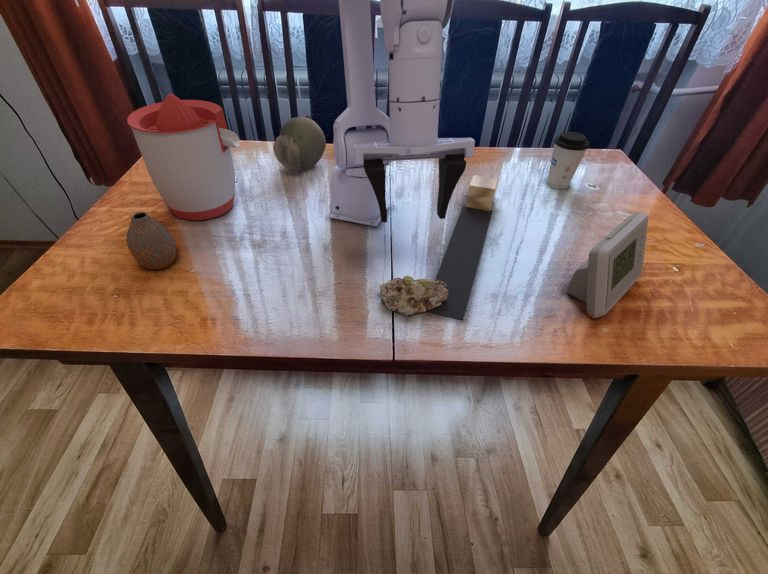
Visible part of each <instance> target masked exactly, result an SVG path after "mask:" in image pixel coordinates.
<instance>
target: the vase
mask: <svg viewBox="0 0 768 574" xmlns="http://www.w3.org/2000/svg"><path fill="white" fill-rule="evenodd" d="M126 245H127V248H128V251H129V253H130V255H131V256H132V258H133V259H134V260H135V262H136V263H137V264H139V265H140V266H142V267H144V268H146V269H149V270H153V271H156V270H162V269H163V270H164V269H166V268H168V267H169V266H170V265H171V264H172V263H173V262H174V260H175V258H176V255H177V245H176V241H175V239H174V236H173V234H172V232H171V231H170V230H169V228H167V226H166V225H164V224H163V223H162V222H160V221H159V220H157V219H155V218H154V217H152V216H151V215H150V214H149V213H148V212H146V211H137V212H134V213H133V214H132V215H131V216H130V223H129V226H128V228H127V230H126Z"/></svg>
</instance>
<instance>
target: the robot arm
mask: <svg viewBox="0 0 768 574" xmlns="http://www.w3.org/2000/svg"><path fill="white" fill-rule="evenodd" d="M454 3H455V0H379V9H380V18H381V23H382V27H383V41H384V43H383V45H384V50H385V52H386V53H388V95H389V96H388V97H389V101H388V102H389V103H388V104H389V105H388V106H389V116H388V115H387V114H386V113H384V112H383V111H382V110H381V109H380V108H378V107H377V106H376V105H377V104H376V89H375V88H376V87H375V72H374V71H375V67H374V53H373V35H372V34H373V33H372V16H371V15H372V14H371V0H338V8H339V9H338V10H339V19H340V20H339V21H340V32H341V43H342V55H343V65H344V66H343V68H344V78H345V80H344V81H345V91H346V93H345V94H346V103H347V107H346V109H345V110H343V112H342V113H340V115H338V117H337V118H336V119H335V120H334V122H333V126H332V127H333V128H332V130H333V131H332V132H333V139H332V140H333V141H332V143H333V145H332V146H333V154H334V160H335V166H334V167H333V168H332V171H331V174H330V182H329V183H330V184H329V187H330V188H329V189H330V203H331V205H330V206H331V214H330V218H331V219H333V220H339V221H345V222H348V223H349V222H350V223H354V224H360V225H365V226H370V227H377V226H378V225H379V224H380V222H381V223H382V224H383V223H387V222H388V209H389V205H388V204H387V200H386V179H387V178H386V175H387V167H388V166H390V165H391V164H392V162H397V161H398V162H399V161H400V162H401V161H417V160H432V159H438V193H437V204H436V215H437V217H438V218H439V219H440V220H445V219H446V216H447V211H448V208H449V204H450V202H451V199H452V196H453V194H454V191H455V189H456V187H457V185H458V183H459V181H460V179H461V178H462V176H463V174H464V172H465V171H466V168H467V161H466V160H465V159H470V158H471V159H472V158H474V157H475V155H474V154H475V144H476V140H475V139H474V138H472V137H438V136H439V116H440V97H441V74H442V73H441V72H442V53H443V51H442V49H443V31H444V29H445V28H446V27H447V26H448V24H449V22H450V19H451V16H452V13H453V8H454ZM369 126H375V127H372V128H360V129H350V128H354V127H356V128H357V127H369Z"/></svg>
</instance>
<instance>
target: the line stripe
mask: <svg viewBox="0 0 768 574" xmlns="http://www.w3.org/2000/svg"><path fill="white" fill-rule="evenodd" d="M493 211H494V210H493V209H490V211H487V210H481V209H475V208H469V207H465V205H464V204H463V205H462V207H461V210H460V212H459V215H458V218H457V221H456V223H455V226H454V228H453V231H452V234H451V236H450V239H449V241H448V244H447V247H446V249H445V252H444V255H443V257H442V260H441V263H440V266H439V268H438V271H437V274H436V277H435V279H434V281H436V280H439V281H441V282H444V283H445V284H446V285H447V288H449V290H448V295H447V299H446V300H444V301H442V303H441V305H440V306H439V307H436V308H435V307H434V308H433V309H430V310H427V311H425V312H424V313H430V314H435V315H438V316H443V317H447V318H451V319H456V320H460V321H464V317H465V314H466V310H467V306H468V303H469V299H470V296H471V292H472V288H473V285H474V280H475V278H476V274H477V270H478V267H479V263H480V259H481V255H482V252H483V248H484V244H485V240H486V237H487V233H488V230H489V226H490V223H491V218H492V215H493Z"/></svg>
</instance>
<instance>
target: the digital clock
mask: <svg viewBox="0 0 768 574" xmlns="http://www.w3.org/2000/svg"><path fill="white" fill-rule="evenodd" d="M648 226H649V216H648V215H647V213H645V212H644V211H637V212H634V213H633V214H630V215H629V216H628V217H627V218H625V219H624V220H623V221H622V222H620V223H619V224H618V225H617V226H616V227H615V228H614V229H612V230H611V231H610V232H609V233H608V234H606V235H605V237H603V238H602V239H601V240H600V241H599V242H598V243H597V244H596V245H595V246H593V248H591V249H590V250H589V253H588V259H587V260H586V261H585V262H584V263H583V264H581V266H579V267H578V268H577V269H576V270H575V271H574V273H573V275H572V277H571V279H570V281H569V283H568V286H567V288H566V291H565V292H566V294H569V295H570V296H573V297H574V298H577V299H579V300H580V301H583V302H584V303H585V305H586V306H585V307H586V308H585V309H586V313H587V315H588V316H589V317H590V318H592V319H599V318H601V317H603V316H604V317H605V315H606V314H607V313H608V312H610V310H611V309H612V308H613V307H614V306H615V305H616V304H617V303H618V301H620V299H622V297H624V295H625V294H626V293H627V292H628V291H629V290H630V288H632V287H633V285H634V284H635V283H636V282H637V281H638V280H639V279H640V278H641V277H642V273H643V270H644V261H645V252H646V243H647V236H648V228H649V227H648Z"/></svg>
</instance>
